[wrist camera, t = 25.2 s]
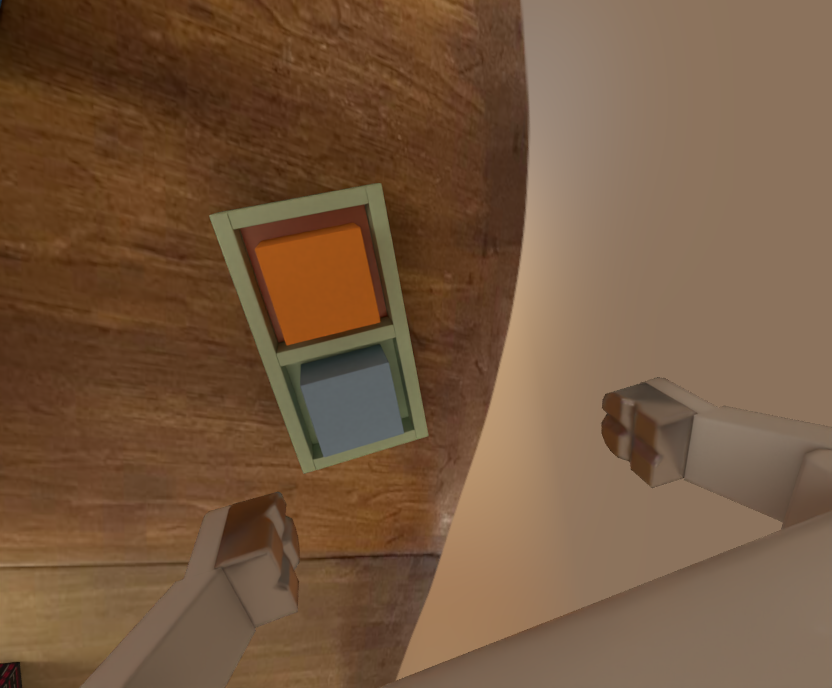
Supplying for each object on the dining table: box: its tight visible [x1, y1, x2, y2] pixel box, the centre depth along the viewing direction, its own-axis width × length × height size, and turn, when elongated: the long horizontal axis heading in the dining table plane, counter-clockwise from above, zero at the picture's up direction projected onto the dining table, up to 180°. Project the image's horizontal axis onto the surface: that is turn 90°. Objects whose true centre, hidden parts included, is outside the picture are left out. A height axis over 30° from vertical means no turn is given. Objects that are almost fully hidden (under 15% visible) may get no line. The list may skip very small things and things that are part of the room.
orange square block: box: [255, 222, 381, 345], centre depth 25 cm, size 6×6×4 cm
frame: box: [209, 183, 428, 474], centre depth 28 cm, size 10×19×3 cm, turn 10°
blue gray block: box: [300, 344, 404, 457], centre depth 29 cm, size 6×6×4 cm
